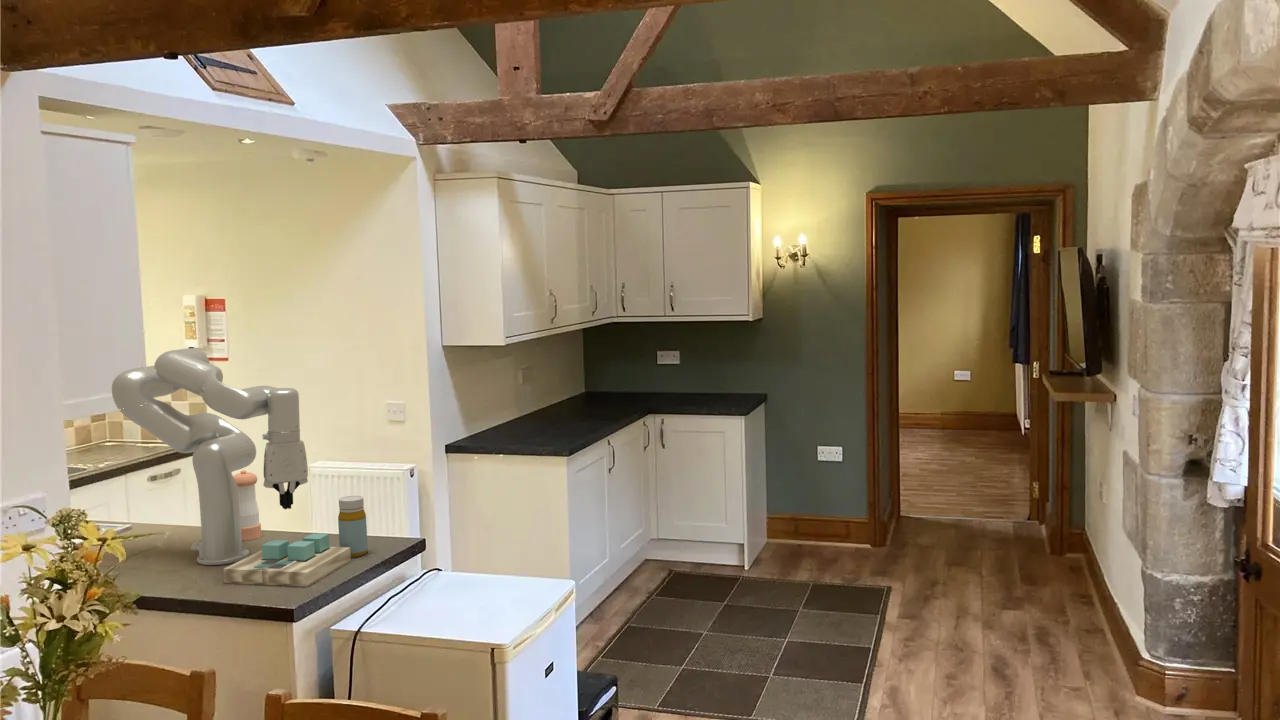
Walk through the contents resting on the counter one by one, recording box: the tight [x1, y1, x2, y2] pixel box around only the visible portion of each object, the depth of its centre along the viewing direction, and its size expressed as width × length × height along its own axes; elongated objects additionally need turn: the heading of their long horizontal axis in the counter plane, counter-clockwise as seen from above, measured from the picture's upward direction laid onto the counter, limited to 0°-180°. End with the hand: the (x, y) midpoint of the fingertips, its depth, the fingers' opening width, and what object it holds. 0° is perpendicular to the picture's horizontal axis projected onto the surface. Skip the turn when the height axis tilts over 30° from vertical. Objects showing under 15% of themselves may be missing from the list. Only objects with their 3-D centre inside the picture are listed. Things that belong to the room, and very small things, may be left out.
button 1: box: [261, 539, 290, 560], centre depth 249 cm, size 5×5×4 cm
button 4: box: [302, 533, 330, 552], centre depth 254 cm, size 5×5×4 cm
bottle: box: [337, 495, 369, 559], centre depth 261 cm, size 7×7×15 cm
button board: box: [223, 546, 352, 588], centre depth 248 cm, size 22×21×4 cm
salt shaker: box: [233, 470, 262, 542], centre depth 281 cm, size 7×7×19 cm
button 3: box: [287, 540, 315, 561], centre depth 247 cm, size 5×5×4 cm
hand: (286, 507), depth 255 cm, fingers closed
